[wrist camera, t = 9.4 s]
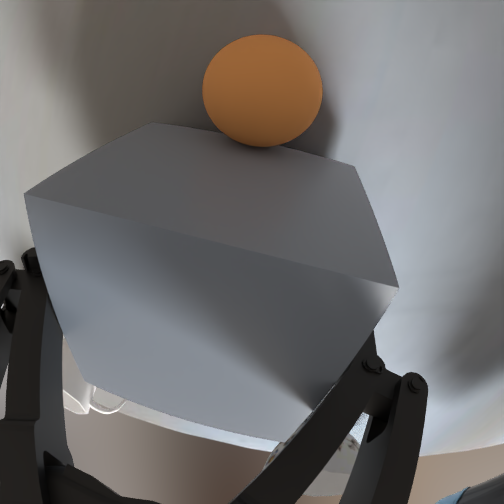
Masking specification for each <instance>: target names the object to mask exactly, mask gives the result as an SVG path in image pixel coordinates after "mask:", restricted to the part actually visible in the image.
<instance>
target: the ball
mask: <svg viewBox="0 0 504 504" xmlns="http://www.w3.org/2000/svg"><path fill="white" fill-rule="evenodd" d="M322 93H323V89H322V81H321V76H320V74H319V71H318V68H317V67H316V65H315V63H314V61H313V60H312V59H311V57H310V56H309V55H308V54H307V53H306V52H305V51H304V50H303V49H302V48H300V47H299V46H298V45H296V44H294V43H293V42H291V41H289V40H286V39H284V38H281V37H277V36H273V35H250V36H246V37H242V38H240V39H237V40H235V41H233V42H231V43H230V44H228V45H226V46H225V47H224V48H222V49H221V50H220V51H219V52H218V53H217V54H216V55H215V56H214V58H213V59H212V60H211V62H210V64H209V65H208V67H207V69H206V72H205V75H204V79H203V85H202V95H203V102H204V105H205V109H206V111H207V113H208V115H209V117H210V119H211V120H212V122H213V123H214V124H215V125H216V127H217V128H218V129H219V130H220V131H221V132H223V133H224V134H225V135H227V136H228V137H230V138H231V139H233V140H235V141H237V142H240V143H242V144H246V145H250V146H255V147H270V146H276V145H280V144H283V143H286V142H288V141H291V140H293V139H294V138H296V137H298V136H299V135H301V134H302V133H303V132H304V131H305V130H306V129H307V128H308V127H309V126H310V125H311V124H312V122H313V121H314V119H315V118H316V116H317V114H318V112H319V109H320V106H321V101H322Z"/></svg>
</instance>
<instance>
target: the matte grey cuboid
mask: <svg viewBox="0 0 504 504" xmlns="http://www.w3.org/2000/svg"><path fill="white" fill-rule="evenodd" d="M24 198H25V204H26V209H27V214H28V219H29V224H30V228H31V233H32V237H33V241H34V245H35V249H36V253H37V257H38V260H39V264H40V268H41V271H42V274H43V278H44V281H45V284H46V287H47V290H48V293H49V296H50V299H51V302H52V305H53V308H54V311H55V313H56V316H57V319H58V321H59V324H60V327H61V329H62V332H63V334H64V337H65V339H66V341H67V344H68V346H69V348H70V351H71V353H72V355H73V358H74V360H75V362H76V364H77V366H78V368H79V371H80V373H81V375H82V377H83V379H84V381H85V382H87V383H89V384H92V385H94V386H96V387H98V388H101V389H103V390H105V391H107V392H110V393H112V394H115V395H117V396H119V397H122V398H124V399H127V400H130V401H132V402H135V403H137V404H140V405H143V406H145V407H148V408H151V409H154V410H157V411H160V412H163V413H166V414H169V415H172V416H175V417H178V418H181V419H185V420H188V421H191V422H195V423H198V424H202V425H205V426H209V427H213V428H217V429H221V430H225V431H229V432H233V433H238V434H242V435H247V436H252V437H256V438H262V439H267V440H272V441H278V442H284V443H285V442H286V441H287V440H288V438H289V437H290V436H291V435H292V434H293V433H294V432H295V431H296V430H297V428H298V427H299V426H300V425H301V424H302V423H303V422H304V420H305V419H306V418H307V417H308V416H309V415H310V413H311V412H312V411H313V410H314V409H315V407H316V406H317V405H318V404H319V403H320V401H321V400H322V399H323V398H324V396H325V395H326V394H327V393H328V391H329V390H330V389H331V388H332V386H333V385H334V384H335V382H336V381H337V380H338V379H339V377H340V376H341V375H342V373H343V372H344V371H345V369H346V368H347V367H348V365H349V364H350V362H351V361H352V360H353V358H354V357H355V356H356V354H357V353H358V351H359V350H360V348H361V347H362V346H363V344H364V343H365V341H366V340H367V338H368V337H369V335H370V334H371V332H372V331H373V329H374V328H375V326H376V325H377V323H378V322H379V320H380V319H381V317H382V316H383V314H384V313H385V311H386V309H387V308H388V306H389V305H390V303H391V301H392V300H393V298H394V296H395V295H396V293H397V291H398V290H399V285H398V282H397V279H396V275H395V272H394V269H393V266H392V263H391V260H390V257H389V254H388V251H387V248H386V245H385V242H384V239H383V237H382V234H381V231H380V228H379V226H378V223H377V220H376V218H375V215H374V212H373V210H372V207H371V205H370V202H369V200H368V197H367V195H366V192H365V190H364V187H363V185H362V183H361V180H360V178H359V176H358V173H357V171H356V169H355V166H352V165H348V164H345V163H342V162H338V161H335V160H332V159H328V158H325V157H321V156H317V155H314V154H310V153H306V152H303V151H299V150H295V149H291V148H287V147H283V146H279V145H276V146H270V147H255V146H250V145H246V144H242V143H240V142H237V141H235V140H233V139H231V138H230V137H228V136H227V135H225V134H223V133H218V132H213V131H207V130H201V129H195V128H189V127H183V126H176V125H170V124H162V123H155V122H151V123H149V124H147V125H144V126H142V127H140V128H138V129H136V130H134V131H132V132H130V133H127V134H125V135H123V136H121V137H119V138H117V139H115V140H113V141H111V142H109V143H108V144H106V145H104V146H102V147H100V148H98V149H96V150H94V151H92V152H91V153H89V154H87V155H85V156H83V157H82V158H80V159H78V160H76V161H75V162H73V163H71V164H70V165H68V166H66V167H64V168H63V169H61V170H60V171H58V172H56V173H55V174H53V175H51V176H50V177H48V178H47V179H45V180H44V181H42V182H40V183H39V184H37V185H36V186H34V187H33V188H31V189H30V190H28V191H27V192H26V193H24Z"/></svg>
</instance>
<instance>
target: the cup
mask: <svg viewBox="0 0 504 504" xmlns="http://www.w3.org/2000/svg"><path fill="white" fill-rule="evenodd" d="M62 383H63V406H64V408H66V409H68V410H70V411H72V412H74V413H76V414H88V412H89V408H90V407H91V408H93V409H94V410H96V411H98V412H100V413H104V414H110V413H113V412H116V411H118V410H119V409H120V408H121V407H122V406H123V405H124V404H125V402H126V401H127V399H124V400H123V401H122V402H121V403H120V404H119V405H118V406H117V407H114V408H111V409H103V408H102V407H100V406H99V405H98V404H97V403H96V402H94V401H93V400H92V398H93V395H94V392H95V389H96V386H94V385H92V384H89V383H87V382H85V381H84V379H83V377H82V375H81V373H80V371H79V368H78V366H77V364H76V362H75V360H74V358H73V355H72V353H71V351H70V348H69V346H68V344H67V341H66V339H63V346H62Z"/></svg>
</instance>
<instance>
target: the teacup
mask: <svg viewBox="0 0 504 504" xmlns="http://www.w3.org/2000/svg"><path fill="white" fill-rule="evenodd" d="M304 424H305V423H304ZM304 424H302V425H301V426H300V427H299V428H298V429H297V430H296V431H295V432H294V433H293V434H292V435H291V436H290V437H289V438H288V440H287V441H286V442H285V443H284V442H280V443H279V444H278V445H277V446H276V447H275V449H274V450H273V451H272V453H271V454H270V456H269V458H268V460H267V462H266V464H265V466H264V468H265V467H266V466H267V465H268V464H269V463H270V462H271V461H272V460H273V459H274V458H275V457H276V456H277V454H278V453H279V452H280V451H281V450H282V449H283V448H284V447H285V446H286V445H287V444H288V442H289V441H290V440H291V439H292V438H293V437H294V436H295V434H296V433H297V432H298V431H299V430H300V429H301V427H302V426H303V425H304ZM359 448H360V444H359V443H358V442H357V440H356V439H355V438H354V437H353V436H352V435H351V434H349V433H348V435H347V436H346V438H345V439H344V441H343V442H342V444H341V445H340V447H339V448H338V449H337V451H336V452H335V453H334V455H333V456H332V458H331V459H330V460H329V462H328V463H327V464H326V466H325V467H324V468H323V470H322V471H321V472H320V473H319V475H318V476H317V477H316V479H315V480H314V481H313V482H312V484H311V485H310V486H309V487H308V488H307V490H306V491H305V492H304V493H303V495H310V496H332V495H340V494H341V495H342V494H343V492H344V490H345V487H346V485H347V482H348V480H349V477H350V474H351V471H352V469H353V466H354V463H355V460H356V457H357V454H358V451H359ZM264 468H263V469H264Z"/></svg>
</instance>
